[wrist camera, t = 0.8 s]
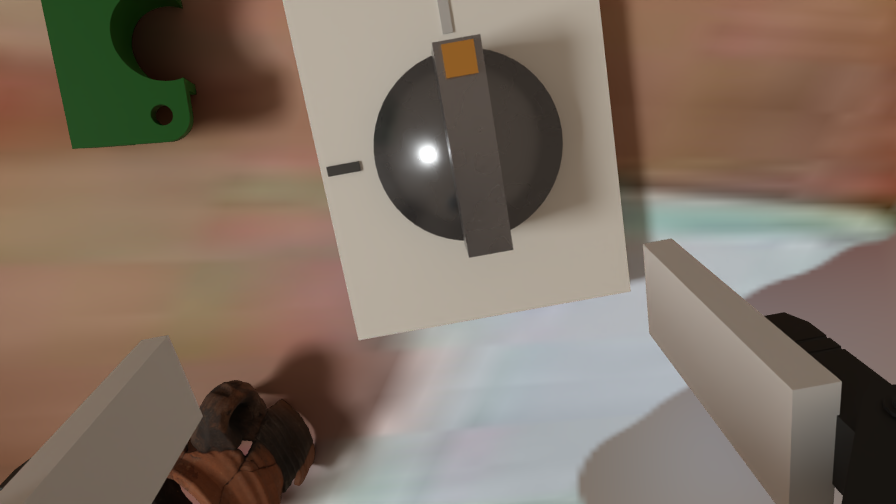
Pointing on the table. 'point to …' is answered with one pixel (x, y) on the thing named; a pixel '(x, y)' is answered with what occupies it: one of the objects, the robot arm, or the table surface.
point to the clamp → (111, 75)
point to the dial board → (408, 246)
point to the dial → (468, 144)
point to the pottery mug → (224, 466)
